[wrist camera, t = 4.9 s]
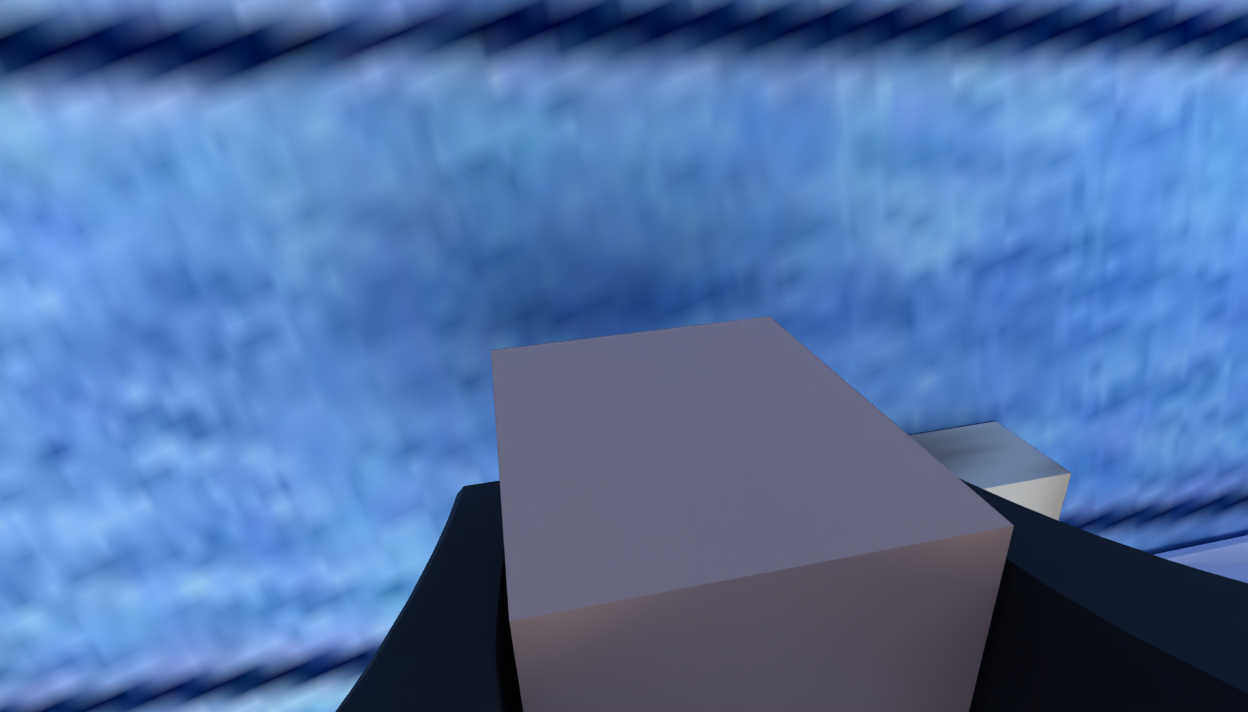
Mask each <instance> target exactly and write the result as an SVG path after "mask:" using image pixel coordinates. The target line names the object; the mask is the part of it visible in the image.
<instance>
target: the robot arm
mask: <svg viewBox="0 0 1248 712" xmlns="http://www.w3.org/2000/svg"><path fill="white" fill-rule="evenodd" d="M959 479H960V478H959ZM960 480H961V481H962V482H964V483H965V484H966V485H967V486H968V487H969V488H971V489H972V490H973V491H974V492H975V493H976V494H978V495H979V496H980V497H981V498H982V499H983V500H985V501H986V502H987V503H988V504H989V505H990V506H992V507H993V508H994V509H995V510H996V511H997V512H999V513H1000V514H1001V515H1002V516H1003V517H1005V518H1006V519H1007V520H1008V521H1009V522H1010V523H1012V524H1013V525H1014V527H1013V531H1012V535H1011V539H1010V544H1009V548H1008V552H1007V556H1006V560H1005V564H1004V568H1003V573H1002V577H1001V581H1000V585H999V589H998V593H997V597H996V602H995V606H994V610H993V614H992V618H991V622H990V626H989V631H988V635H987V639H986V643H985V647H984V651H983V655H982V660H981V664H980V668H979V672H978V676H977V680H976V684H975V689H974V693H973V697H972V701H971V705H970V709H969V712H1248V535H1246V536H1241V537H1236V538H1231V539H1226V540H1222V541H1217V542H1212V543H1207V544H1202V545H1197V546H1193V547H1188V548H1183V549H1178V550H1173V551H1168V552H1164V553H1159V554H1154V555H1152V554H1149V553H1147V552H1144V551H1141V550H1138V549H1135V548H1132V547H1129V546H1126V545H1123V544H1120V543H1117V542H1114V541H1112V540H1109V539H1106V538H1103V537H1100V536H1097V535H1094V534H1092V533H1089V532H1086V531H1084V530H1081V529H1078V528H1076V527H1073V526H1071V525H1068V524H1065V523H1063V522H1060V521H1058V520H1056V519H1053V518H1051V517H1048V516H1046V515H1043V514H1041V513H1038V512H1036V511H1033V510H1031V509H1029V508H1026V507H1024V506H1021V505H1019V504H1016V503H1014V502H1012V501H1009V500H1007V499H1005V498H1003V497H1000V496H998V495H996V494H993V493H991V492H989V491H987V490H984V489H982V488H980V487H978V486H975V485H973V484H971V483H969V482H967V481H964V480H962V479H960ZM336 712H523V706H522V700H521V694H520V687H519V681H518V674H517V668H516V661H515V655H514V648H513V642H512V636H511V629H510V623H509V609H508V595H507V580H506V565H505V550H504V535H503V521H502V506H501V491H500V481H495V482H488V483H482V484H475V485H469V486H464V487H463V488H462V489H461V490H460V492H459V493H458V494H457V496H456V499H455V502H454V505H453V508H452V510H451V513H450V516H449V518H448V520H447V523H446V525H445V527H444V530H443V532H442V534H441V536H440V538H439V541H438V543H437V545H436V547H435V549H434V551H433V553H432V555H431V557H430V559H429V561H428V563H427V565H426V567H425V569H424V571H423V573H422V575H421V576H420V578H419V580H418V582H417V584H416V586H415V588H414V590H413V592H412V594H411V595H410V597H409V599H408V601H407V602H406V604H405V606H404V607H403V609H402V611H401V612H400V614H399V616H398V617H397V619H396V621H395V622H394V624H393V626H392V627H391V629H390V631H389V632H388V634H387V636H386V637H385V639H384V641H383V642H382V644H381V646H380V647H379V649H378V651H377V652H376V654H375V655H374V657H373V658H372V660H371V661H370V663H369V664H368V666H367V667H366V669H365V670H364V672H363V673H362V675H361V676H360V678H359V679H358V681H357V682H356V684H355V685H354V686H353V688H352V689H351V691H350V692H349V694H348V695H347V696H346V698H345V699H344V701H343V702H342V703H341V705H340V706H339V708H338V709H337V710H336Z"/></svg>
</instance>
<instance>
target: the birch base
mask: <svg viewBox="0 0 1248 712" xmlns="http://www.w3.org/2000/svg"><path fill="white" fill-rule="evenodd" d="M909 436H910V437H911V438H912V439H913V440H915V441H916V442H917V443H918V444H919V445H920V446H922V447H923V448H924V449H925V450H926V451H927V452H929V453H930V454H931V455H932V456H933V457H934V458H936V459H937V460H938V461H939V462H940V463H941V464H943V465H944V466H945V467H946V468H947V469H948V470H950V471H951V472H952V473H953V474H954V475H955V476H957V477H958V478H960V479H962V480H964V481H967V482H969V483H971V484H973V485H975V486H978V487H980V488H982V489H984V490H987V491H989V492H991V493H993V494H996V495H998V496H1000V497H1003V498H1005V499H1007V500H1009V501H1012V502H1014V503H1016V504H1019V505H1021V506H1024V507H1026V508H1029V509H1031V510H1033V511H1036V512H1038V513H1041V514H1043V515H1046V516H1048V517H1051V518H1053V519H1056V520H1059V516H1060V513H1061V509H1062V505H1063V502H1064V498H1065V494H1066V491H1067V487H1068V483H1069V480H1070V476H1071V472H1069V471H1068V470H1066V469H1065V468H1063V467H1062V466H1060V465H1059V464H1057V463H1056V462H1055V461H1053V460H1052V459H1050V458H1049V457H1047V456H1046V455H1044V454H1043V453H1041V452H1040V451H1039V450H1037V449H1036V448H1034V447H1033V446H1031V445H1030V444H1028V443H1027V442H1025V441H1024V440H1023V439H1021V438H1020V437H1018V436H1017V435H1015V434H1014V433H1012V432H1011V431H1009V430H1008V429H1006V428H1005V427H1004V426H1002V425H1001V424H999V423H998V422H996V421H995V422H988V423H982V424H976V425H970V426H963V427H957V428H951V429H945V430H938V431H932V432H926V433H920V434H913V435H909Z"/></svg>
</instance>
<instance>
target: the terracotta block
mask: <svg viewBox="0 0 1248 712" xmlns="http://www.w3.org/2000/svg"><path fill="white" fill-rule="evenodd" d="M491 358H492V373H493V388H494V402H495V417H496V432H497V447H498V461H499V476H500V491H501V506H502V521H503V535H504V550H505V565H506V580H507V595H508V609H509V623H510V629H511V636H512V642H513V648H514V655H515V661H516V668H517V674H518V681H519V687H520V694H521V700H522V706H523V712H969V709H970V705H971V701H972V697H973V693H974V689H975V684H976V680H977V676H978V672H979V668H980V664H981V660H982V655H983V651H984V647H985V643H986V639H987V635H988V631H989V626H990V622H991V618H992V614H993V610H994V606H995V602H996V597H997V593H998V589H999V585H1000V581H1001V577H1002V573H1003V568H1004V564H1005V560H1006V556H1007V552H1008V548H1009V544H1010V539H1011V535H1012V531H1013V527H1014V525H1013V524H1012V523H1010V522H1009V521H1008V520H1007V519H1006V518H1005V517H1003V516H1002V515H1001V514H1000V513H999V512H997V511H996V510H995V509H994V508H993V507H992V506H990V505H989V504H988V503H987V502H986V501H985V500H983V499H982V498H981V497H980V496H979V495H978V494H976V493H975V492H974V491H973V490H972V489H971V488H969V487H968V486H967V485H966V484H965V483H964V482H962V481H961V480H960V479H959V478H958V477H957V476H955V475H954V474H953V473H952V472H951V471H950V470H948V469H947V468H946V467H945V466H944V465H943V464H941V463H940V462H939V461H938V460H937V459H936V458H934V457H933V456H932V455H931V454H930V453H929V452H927V451H926V450H925V449H924V448H923V447H922V446H920V445H919V444H918V443H917V442H916V441H915V440H913V439H912V438H911V437H910V436H909V435H908V434H906V433H905V432H904V431H903V430H902V429H901V428H899V427H898V426H897V425H896V424H895V423H894V422H892V421H891V420H890V419H889V418H888V417H887V416H885V415H884V414H883V413H882V412H881V411H880V410H878V409H877V408H876V407H875V406H874V405H873V404H871V403H870V402H869V401H868V400H867V399H866V398H864V397H863V396H862V395H861V394H860V393H859V392H857V391H856V390H855V389H854V388H853V387H852V386H850V385H849V384H848V383H847V382H846V381H845V380H843V379H842V378H841V377H840V376H839V375H838V374H836V373H835V372H834V371H833V370H832V369H831V368H829V367H828V366H827V365H826V364H825V363H824V362H822V361H821V360H820V359H819V358H818V357H817V356H815V355H814V354H813V353H812V352H811V351H810V350H808V349H807V348H806V347H805V346H804V345H803V344H801V343H800V342H799V341H798V340H797V339H796V338H794V337H793V336H792V335H791V334H790V333H788V332H787V331H786V330H785V329H784V328H783V327H781V326H780V325H779V324H778V323H777V322H776V321H774V320H773V319H772V318H771V317H770V316H767V317H759V318H751V319H742V320H734V321H726V322H718V323H710V324H701V325H693V326H685V327H677V328H668V329H660V330H652V331H644V332H636V333H627V334H619V335H611V336H603V337H595V338H586V339H578V340H570V341H562V342H554V343H545V344H537V345H529V346H521V347H512V348H504V349H496V350H491Z"/></svg>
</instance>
